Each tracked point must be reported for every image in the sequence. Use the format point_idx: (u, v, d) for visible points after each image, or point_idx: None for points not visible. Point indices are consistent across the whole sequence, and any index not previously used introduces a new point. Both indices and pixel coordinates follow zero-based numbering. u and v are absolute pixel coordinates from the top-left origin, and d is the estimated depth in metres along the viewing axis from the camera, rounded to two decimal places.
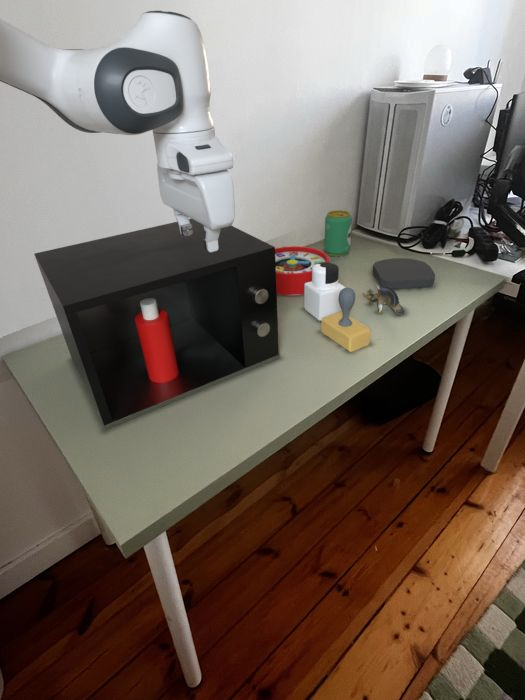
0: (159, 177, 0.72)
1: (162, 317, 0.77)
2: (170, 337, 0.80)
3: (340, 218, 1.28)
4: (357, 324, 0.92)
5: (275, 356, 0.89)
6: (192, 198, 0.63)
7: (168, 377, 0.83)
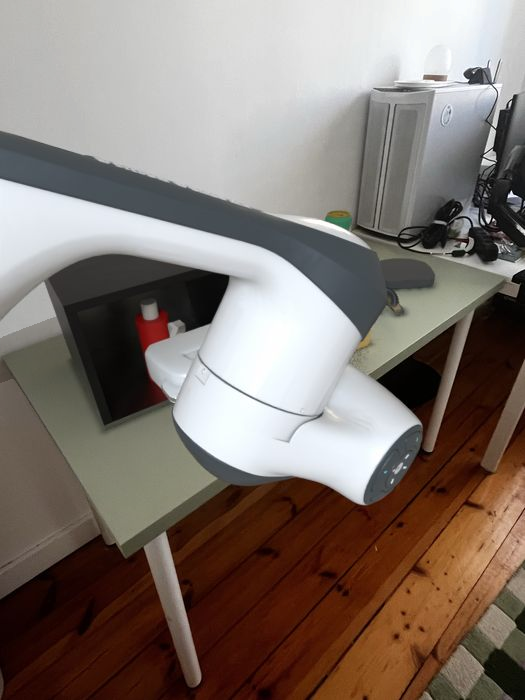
0: None
1: (162, 317, 0.77)
2: None
3: (340, 218, 1.28)
4: None
5: None
6: None
7: None
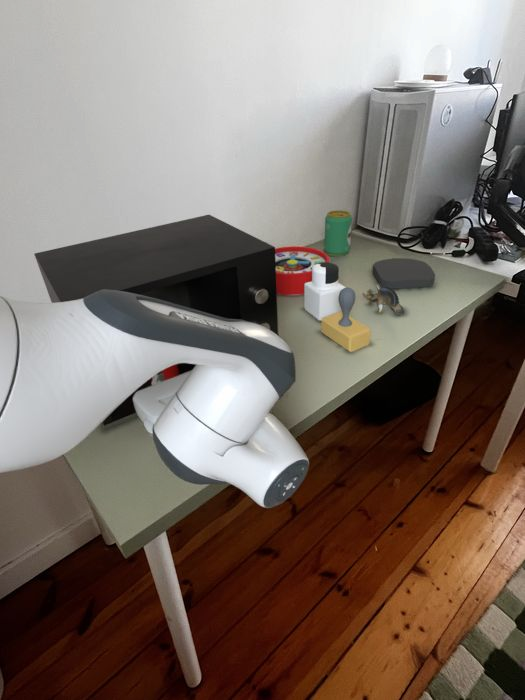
0: None
1: None
2: None
3: (340, 218, 1.28)
4: (357, 324, 0.92)
5: None
6: None
7: (168, 377, 0.83)
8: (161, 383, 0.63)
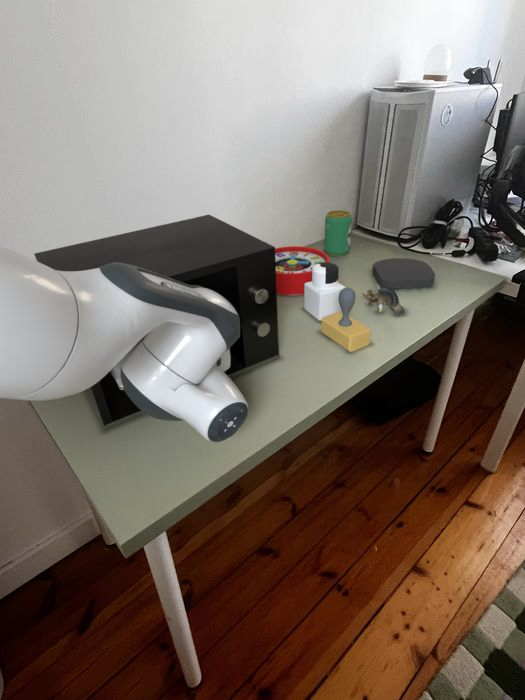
0: None
1: None
2: None
3: (340, 218, 1.28)
4: (357, 324, 0.92)
5: (275, 356, 0.89)
6: None
7: None
8: (132, 348, 0.74)
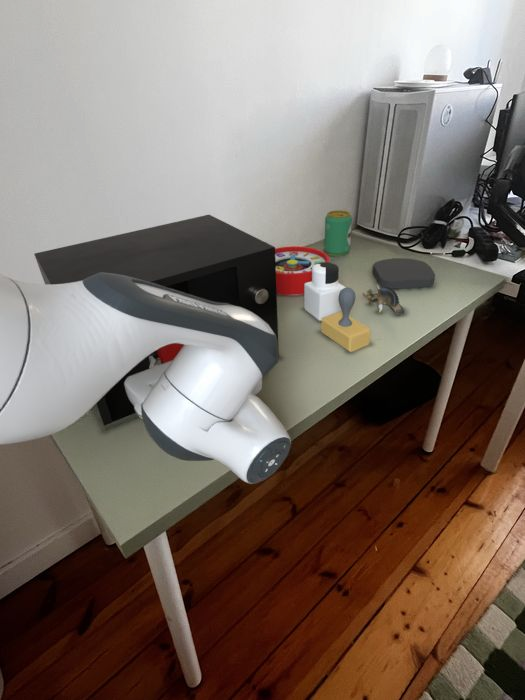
0: None
1: None
2: None
3: (340, 218, 1.28)
4: (357, 324, 0.92)
5: None
6: None
7: None
8: (152, 369, 0.65)
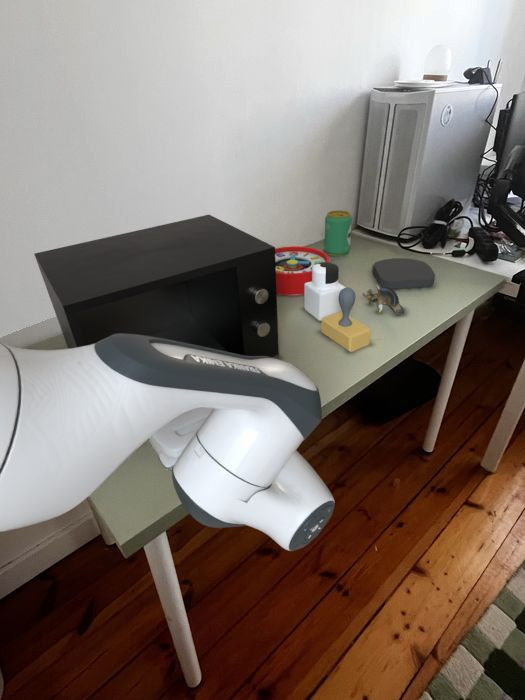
0: None
1: None
2: None
3: (340, 218, 1.28)
4: (357, 324, 0.92)
5: (275, 356, 0.89)
6: None
7: None
8: None
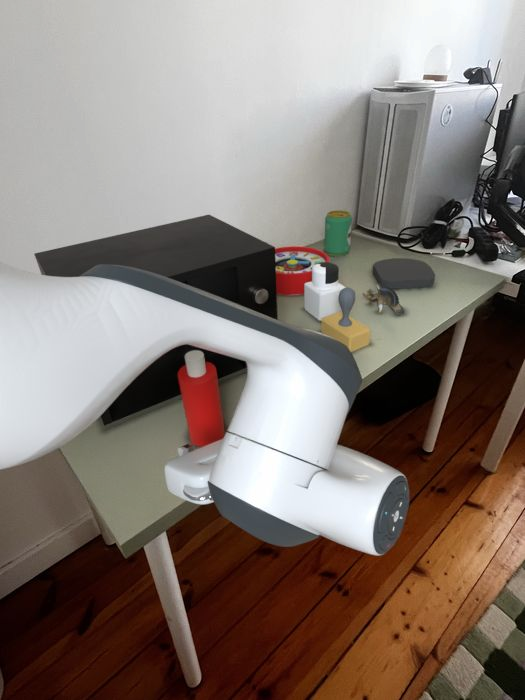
0: None
1: (211, 373, 0.64)
2: (218, 395, 0.67)
3: (340, 218, 1.28)
4: (357, 324, 0.92)
5: None
6: None
7: (214, 440, 0.70)
8: (196, 450, 0.53)
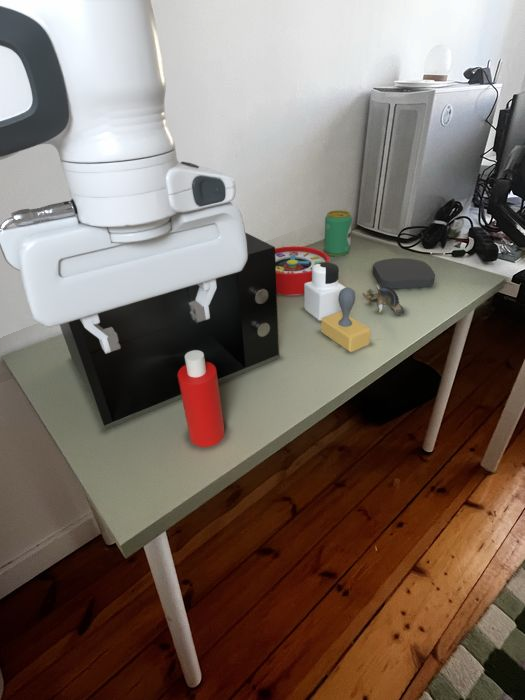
0: (39, 277, 0.33)
1: (211, 373, 0.64)
2: (218, 395, 0.67)
3: (340, 218, 1.28)
4: (357, 324, 0.92)
5: (275, 356, 0.89)
6: (191, 251, 0.39)
7: (214, 440, 0.70)
8: None
